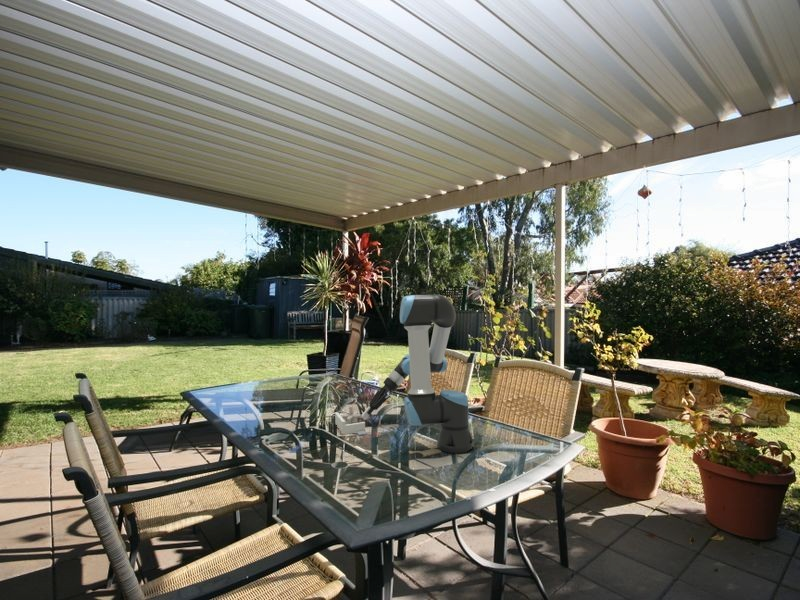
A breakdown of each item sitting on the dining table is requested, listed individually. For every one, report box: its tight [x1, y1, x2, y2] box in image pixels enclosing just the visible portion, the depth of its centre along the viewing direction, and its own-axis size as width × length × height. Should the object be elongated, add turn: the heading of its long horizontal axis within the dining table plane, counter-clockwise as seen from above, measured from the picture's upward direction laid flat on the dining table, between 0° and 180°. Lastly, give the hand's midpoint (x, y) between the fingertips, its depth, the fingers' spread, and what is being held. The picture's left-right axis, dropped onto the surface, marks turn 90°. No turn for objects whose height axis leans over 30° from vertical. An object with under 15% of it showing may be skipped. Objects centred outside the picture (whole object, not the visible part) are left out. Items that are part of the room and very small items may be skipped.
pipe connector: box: [341, 405, 363, 424], centre depth 209 cm, size 10×10×10 cm
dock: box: [334, 411, 368, 437], centre depth 208 cm, size 26×11×6 cm, turn 21°
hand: (362, 418), depth 210 cm, fingers closed
